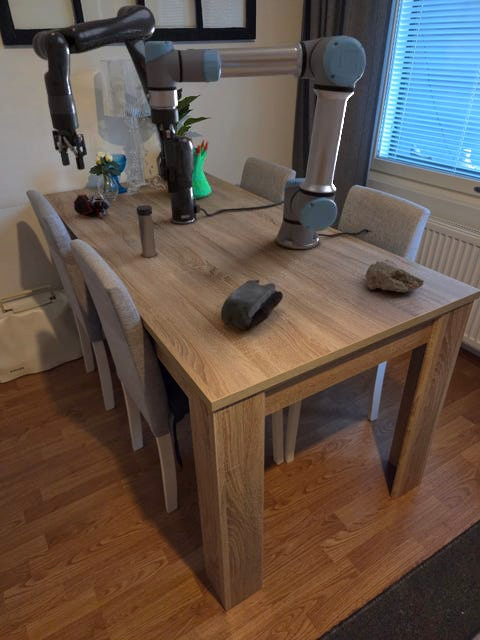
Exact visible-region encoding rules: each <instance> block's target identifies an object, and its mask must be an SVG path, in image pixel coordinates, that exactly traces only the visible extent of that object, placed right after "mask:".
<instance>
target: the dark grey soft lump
mask: <svg viewBox="0 0 480 640" xmlns="http://www.w3.org/2000/svg"><path fill="white" fill-rule="evenodd" d="M283 297H284V294H283V292H282V291H281V290H280V291H278V290H277V288H276V285H275V283H272V282H271V283H267V284H264V285H263V284H260V280H259V279H255V280H254V279H253V280H252V279H248V280H247V281H246V282H244V283H243V284H241V285H240V286H238V287H237V288H235V290H233V291H232V292H231V293H230V294H229V295H228V296H227V298H226V299H225V301H224V303H223V305H222V307H221V312H220V319H221V320H222V321H223V322H224V323H226V324H231V323H233V324H234V326H235V327H237V328H238V329H240V330H245V331H246V332H249V331H251V330H252V329H253V328H255V327H256V326H258V325H260V324H262V323H263V322H264V321H265V320H267V319H268V317H270V315H271V313H272V311H273V310H274V309H275V308H276V307H278V305H279V304H281V301H282V300H283Z"/></svg>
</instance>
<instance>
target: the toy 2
mask: <svg viewBox="0 0 480 640" xmlns="http://www.w3.org/2000/svg"><path fill="white" fill-rule="evenodd" d="M189 139H190V140H191V141H192V144H193V148H194V170H193V174H192V181H193V196H194V197H195V200H196V199H202V198H205V197H207V196H209V195H210V194H212V188H211V186H210V184H209V182H208V180H207V177H206V175H205V172H204V169H203V166H204V163H205V159H206V157H207V153H208V147H209V141H206V143H205V141H204V139H202V142H201V143H200V144H198V145H197V147H196V149H195V146H194V142H193V141H194V140H193V138H192V137H189Z"/></svg>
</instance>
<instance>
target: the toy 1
mask: <svg viewBox="0 0 480 640" xmlns="http://www.w3.org/2000/svg"><path fill="white" fill-rule="evenodd" d="M95 197H96V195H95V194H90V196H87V195H86V194H78V195H77V197H76V198H75V199H74V201H73V209H74V211H75V212H76V213H77V214H78V215H80V216H82V217H88V218H93V219H99V220H100V219H101V220H102V219H103V218H102V216H101V214H102V215H103V216H107V215H108V214H109V210H108V209H109V207H110V205H111V203H110V202H109V201H108V200H107V199H106V198H100V197H98V198H95Z"/></svg>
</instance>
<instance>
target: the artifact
mask: <svg viewBox="0 0 480 640" xmlns="http://www.w3.org/2000/svg"><path fill="white" fill-rule="evenodd" d="M365 278H366V287H368V288H369V290H370V291H373V290H376V289H381V291H392V292H397V293H408V292H409V291H416V290H417V289H419V288H421V287H422V286H423V285H424V280H423V279H421V278H419V277H417V276H415V275H413V274H411V273H409V272H408V271H406V270H404V269H401V267H400V266H398V265H397V264H395V262H393V260H391V259H384V260H382V261H376V262H375V263H371V264H370V265H369V266H368V268H367V271H366V273H365Z"/></svg>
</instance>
